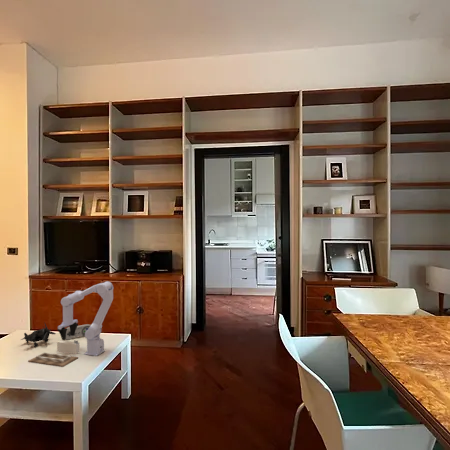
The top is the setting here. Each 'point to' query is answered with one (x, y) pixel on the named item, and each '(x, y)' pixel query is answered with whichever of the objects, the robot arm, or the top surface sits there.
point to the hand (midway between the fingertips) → (68, 337)
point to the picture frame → (53, 359)
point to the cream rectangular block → (68, 347)
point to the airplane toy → (38, 335)
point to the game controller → (77, 331)
